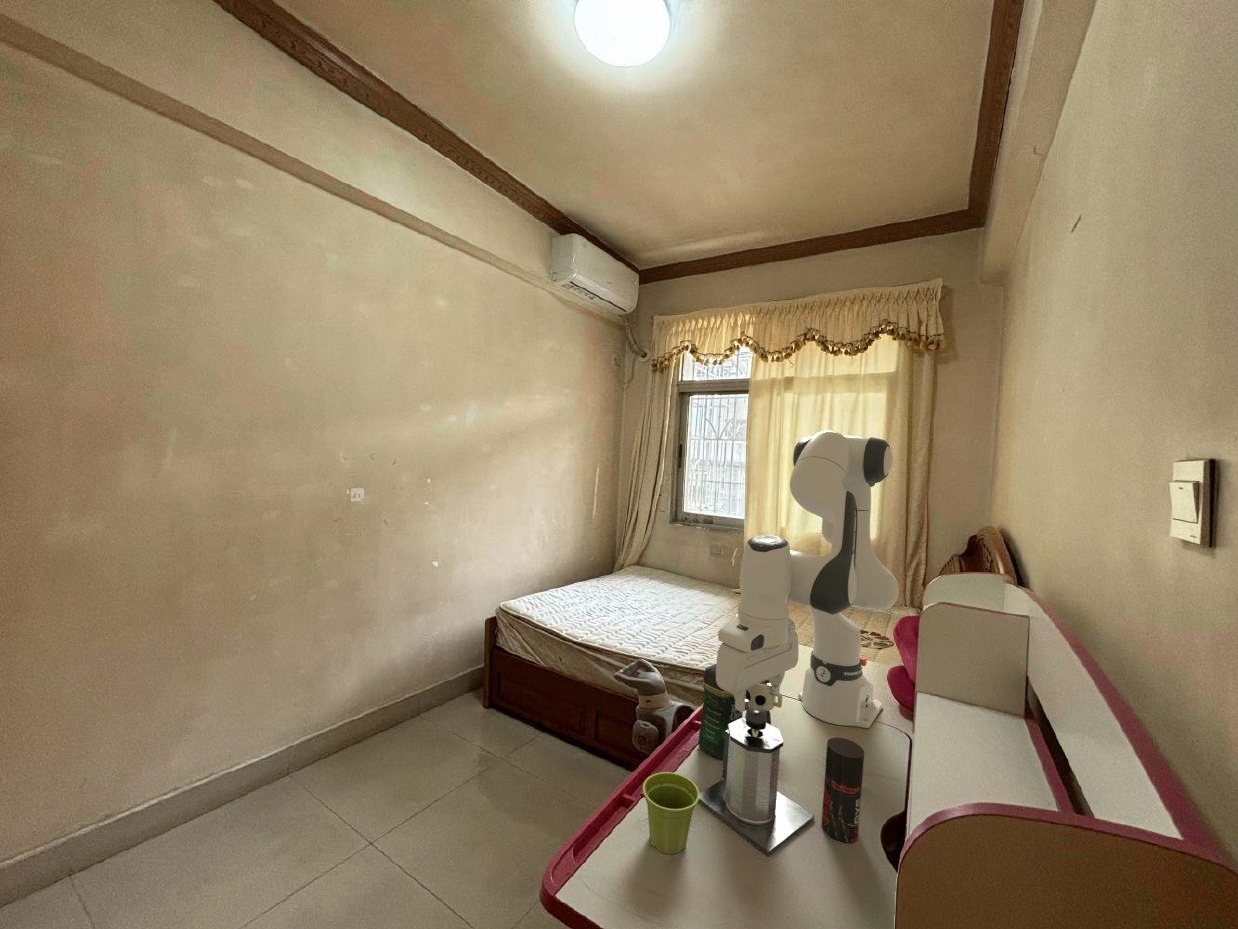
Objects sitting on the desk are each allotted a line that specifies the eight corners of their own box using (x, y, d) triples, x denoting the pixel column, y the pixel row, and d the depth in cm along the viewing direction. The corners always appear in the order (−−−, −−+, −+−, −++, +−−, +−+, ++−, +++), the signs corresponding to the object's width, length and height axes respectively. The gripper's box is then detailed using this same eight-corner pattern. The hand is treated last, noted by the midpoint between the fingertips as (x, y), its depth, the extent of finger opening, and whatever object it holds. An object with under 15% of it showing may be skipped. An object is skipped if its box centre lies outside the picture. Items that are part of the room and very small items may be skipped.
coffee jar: (721, 765, 105) (727, 678, 104) (692, 746, 111) (697, 664, 110) (748, 748, 112) (753, 666, 111) (719, 732, 117) (724, 653, 117)
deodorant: (855, 849, 84) (862, 762, 84) (818, 833, 88) (824, 749, 87) (860, 827, 89) (866, 745, 89) (824, 813, 93) (830, 733, 92)
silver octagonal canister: (741, 772, 103) (746, 701, 103) (813, 820, 91) (819, 740, 90) (695, 799, 94) (699, 722, 94) (768, 856, 82) (774, 768, 81)
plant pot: (639, 817, 89) (642, 769, 89) (693, 821, 89) (695, 773, 88) (640, 860, 80) (643, 807, 79) (699, 865, 79) (702, 812, 79)
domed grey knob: (749, 775, 94) (754, 704, 94) (766, 786, 91) (771, 713, 91) (737, 783, 92) (742, 709, 91) (754, 794, 89) (759, 719, 89)
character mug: (728, 728, 119) (732, 674, 119) (743, 717, 124) (746, 666, 124) (772, 749, 112) (776, 691, 111) (785, 736, 117) (789, 681, 116)
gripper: (780, 611, 99) (775, 679, 100) (711, 633, 87) (707, 710, 87) (809, 621, 95) (804, 692, 95) (741, 645, 82) (736, 728, 82)
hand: (757, 701), depth 91 cm, fingers open, 8 cm apart
